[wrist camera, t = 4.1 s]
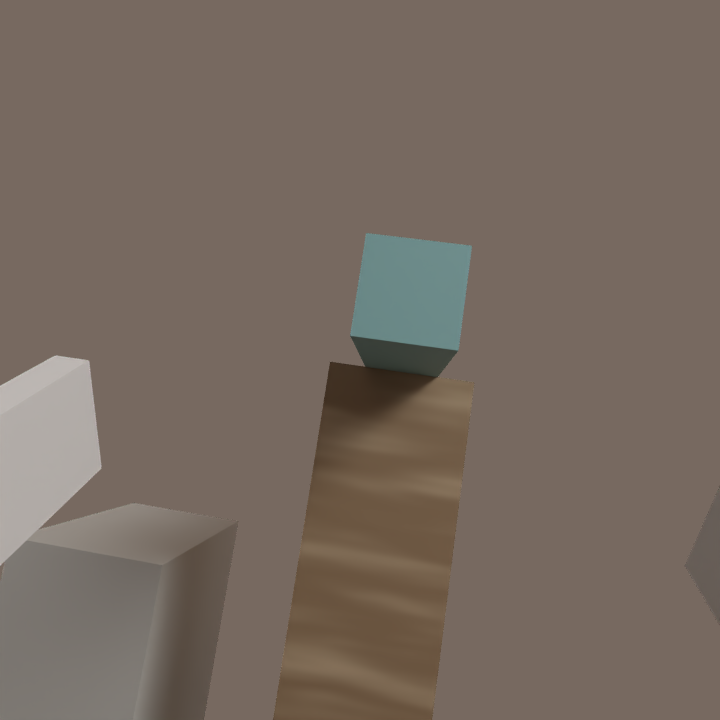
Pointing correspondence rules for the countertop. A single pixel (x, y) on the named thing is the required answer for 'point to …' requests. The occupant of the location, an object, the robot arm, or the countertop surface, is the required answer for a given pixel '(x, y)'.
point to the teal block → (410, 303)
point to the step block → (114, 616)
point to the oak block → (376, 548)
